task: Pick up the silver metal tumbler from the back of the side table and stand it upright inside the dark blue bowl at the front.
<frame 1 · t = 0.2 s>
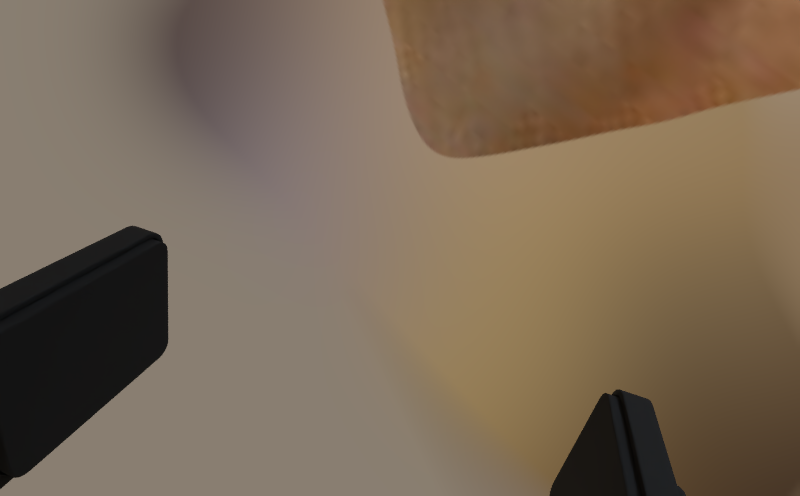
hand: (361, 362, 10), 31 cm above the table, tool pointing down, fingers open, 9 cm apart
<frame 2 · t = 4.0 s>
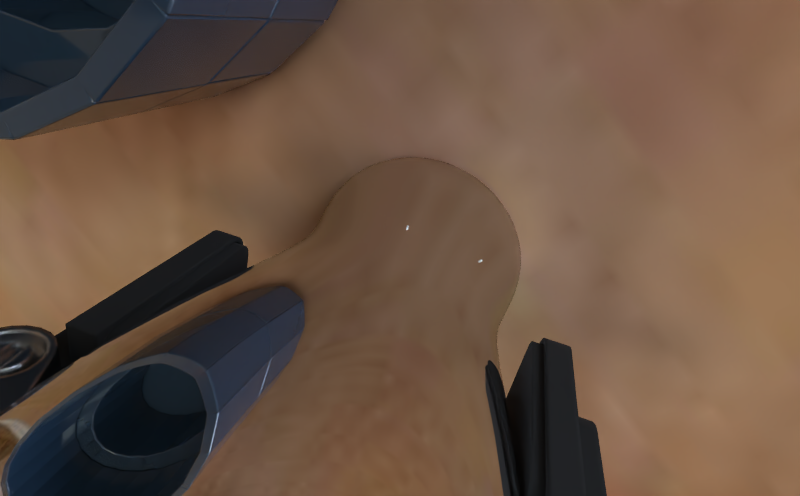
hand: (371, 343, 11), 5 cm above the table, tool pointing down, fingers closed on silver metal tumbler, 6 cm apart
silver metal tumbler: (419, 252, 15), on the table, touching gripper
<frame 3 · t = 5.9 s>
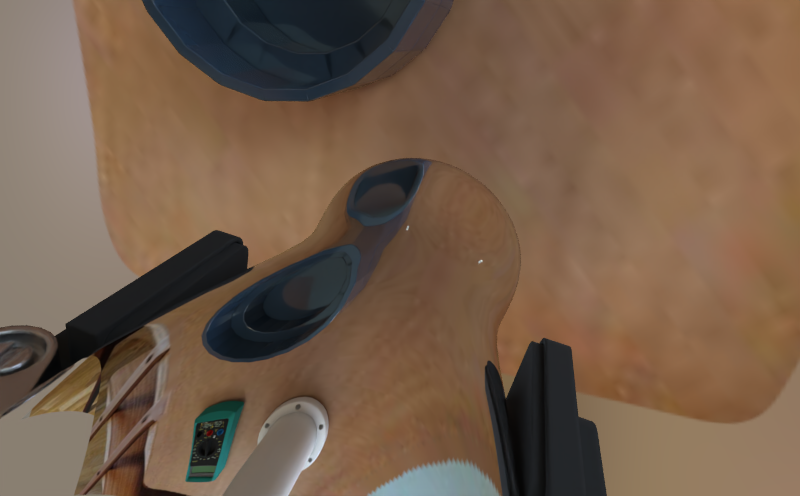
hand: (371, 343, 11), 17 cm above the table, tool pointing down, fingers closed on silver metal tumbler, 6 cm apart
silver metal tumbler: (419, 252, 15), point 12 cm above the table, touching gripper
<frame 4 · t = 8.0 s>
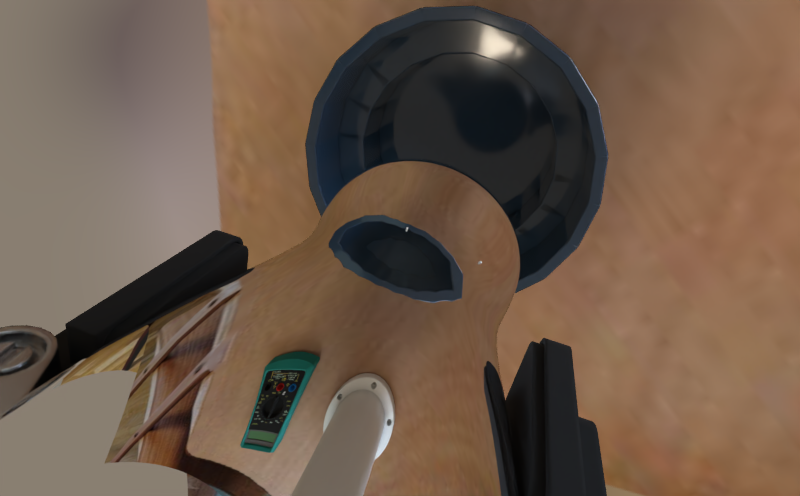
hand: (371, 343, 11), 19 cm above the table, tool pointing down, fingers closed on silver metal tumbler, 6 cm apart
silver metal tumbler: (418, 253, 15), point 14 cm above the table, touching gripper
dark blue bowl: (464, 142, 27), on the table
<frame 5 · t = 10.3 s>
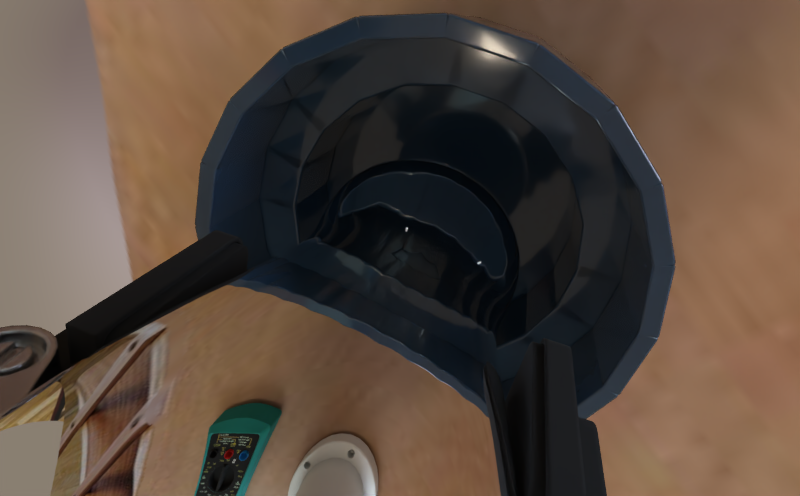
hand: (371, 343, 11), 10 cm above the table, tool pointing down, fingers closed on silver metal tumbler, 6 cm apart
silver metal tumbler: (418, 253, 15), point 5 cm above the table, touching gripper
dark blue bowl: (446, 201, 19), on the table
when the fingers open (5 cm above the table, at t = 12.1 s): silver metal tumbler stays where it is, resting on dark blue bowl.
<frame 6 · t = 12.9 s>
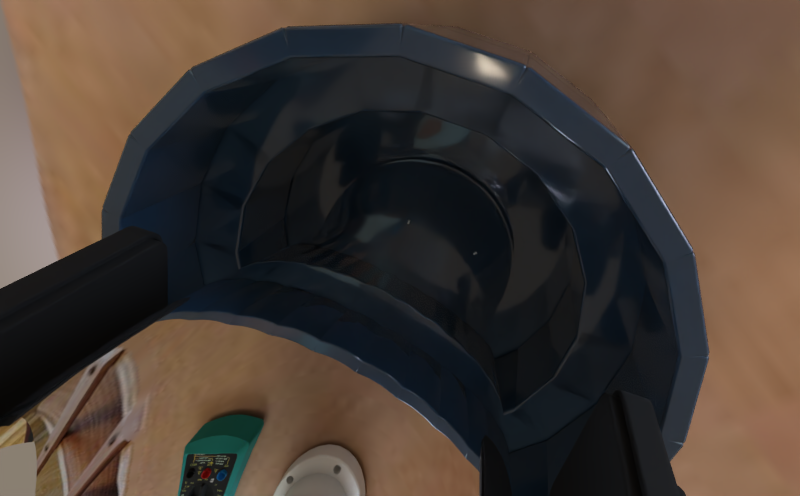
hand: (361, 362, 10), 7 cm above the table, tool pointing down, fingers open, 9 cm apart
silver metal tumbler: (418, 247, 16), resting on dark blue bowl
dark blue bowl: (423, 241, 16), on the table
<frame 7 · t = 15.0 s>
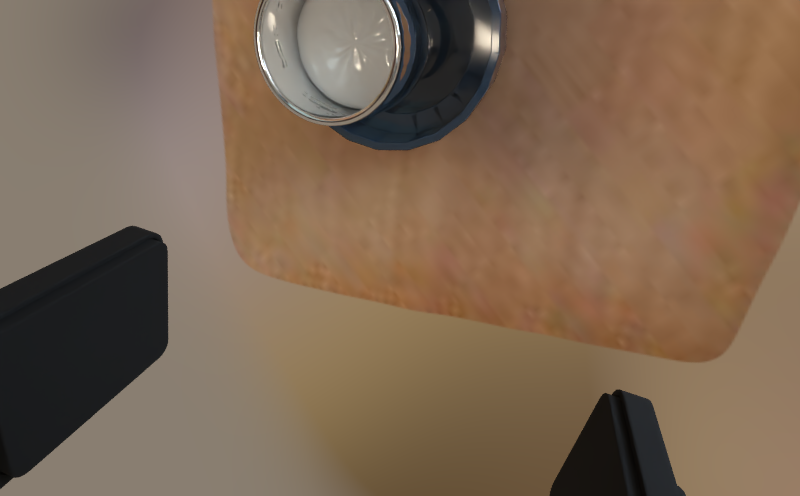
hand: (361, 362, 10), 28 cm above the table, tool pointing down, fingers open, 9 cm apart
silver metal tumbler: (409, 37, 34), resting on dark blue bowl
dark blue bowl: (412, 36, 34), on the table
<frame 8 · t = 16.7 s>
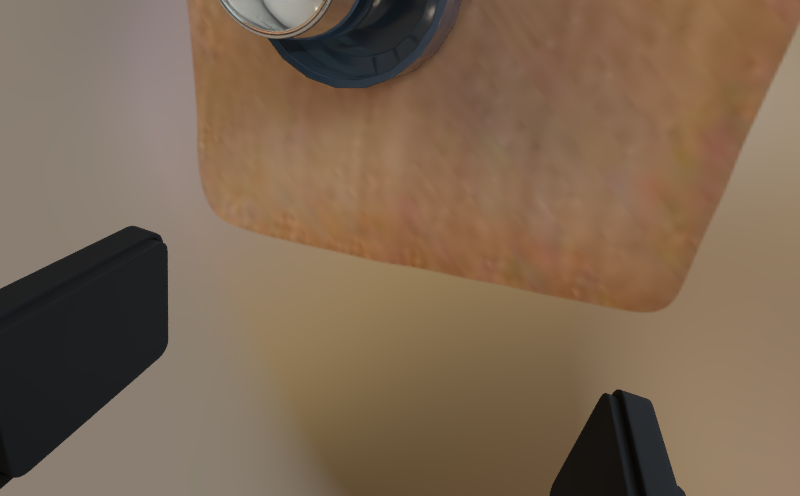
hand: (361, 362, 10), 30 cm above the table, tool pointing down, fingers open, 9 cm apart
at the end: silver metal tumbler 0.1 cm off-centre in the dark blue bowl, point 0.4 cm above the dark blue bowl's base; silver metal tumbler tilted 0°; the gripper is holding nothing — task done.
